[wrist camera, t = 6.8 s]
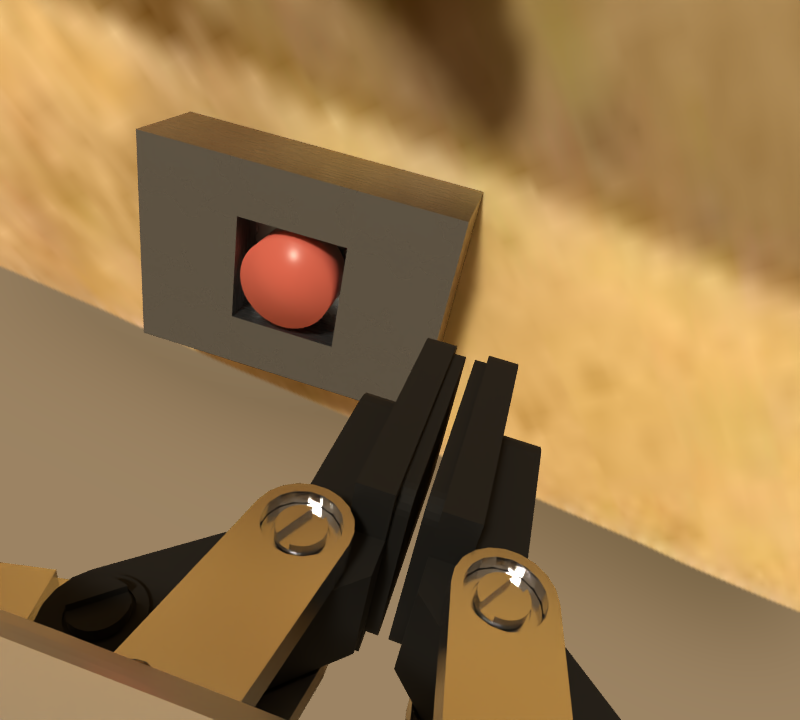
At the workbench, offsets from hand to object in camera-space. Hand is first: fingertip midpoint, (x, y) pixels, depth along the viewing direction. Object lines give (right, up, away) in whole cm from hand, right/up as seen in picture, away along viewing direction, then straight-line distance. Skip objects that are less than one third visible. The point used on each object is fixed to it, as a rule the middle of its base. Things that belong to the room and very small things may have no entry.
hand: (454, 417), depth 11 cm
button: (-7, +7, +30) cm, 31 cm away
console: (-7, +9, +32) cm, 34 cm away
